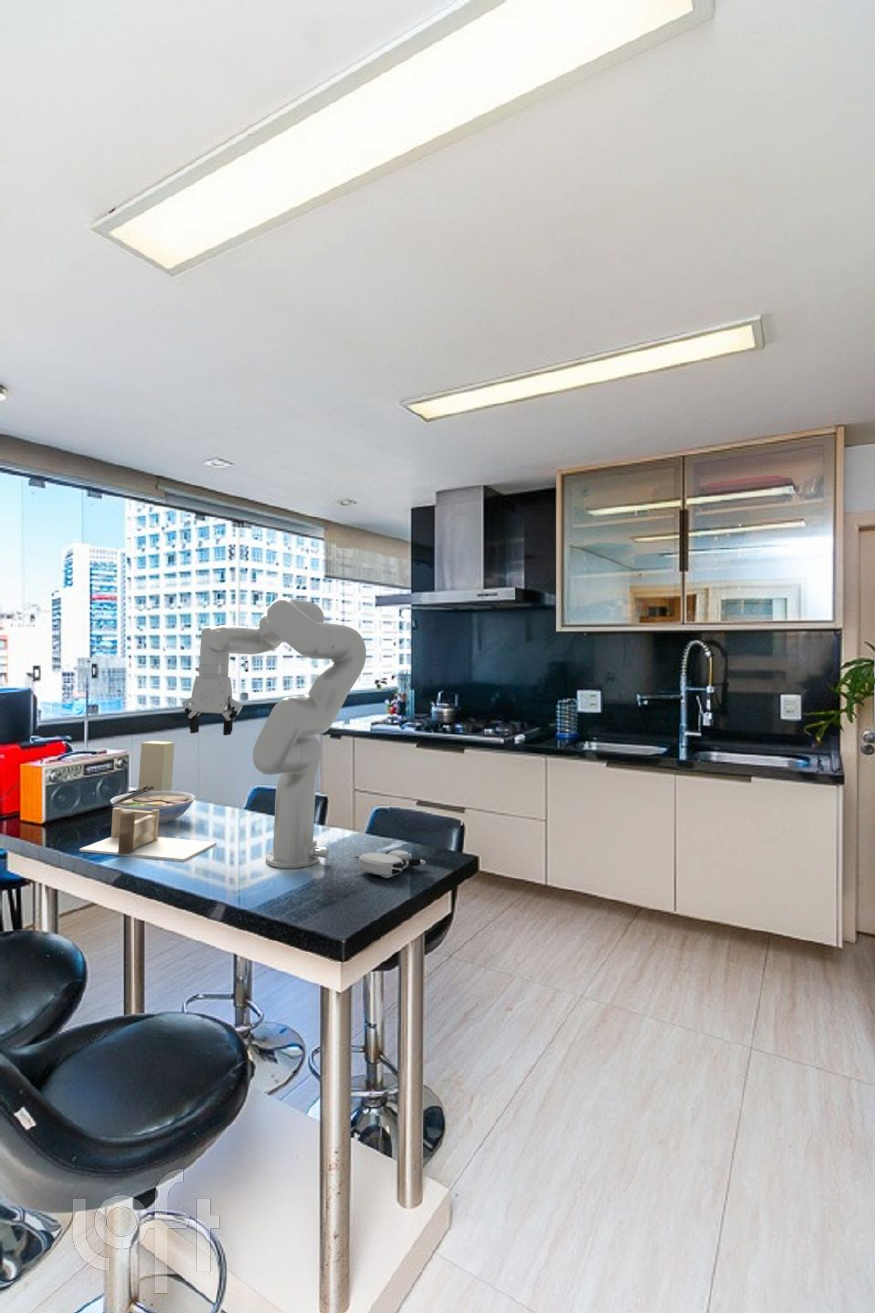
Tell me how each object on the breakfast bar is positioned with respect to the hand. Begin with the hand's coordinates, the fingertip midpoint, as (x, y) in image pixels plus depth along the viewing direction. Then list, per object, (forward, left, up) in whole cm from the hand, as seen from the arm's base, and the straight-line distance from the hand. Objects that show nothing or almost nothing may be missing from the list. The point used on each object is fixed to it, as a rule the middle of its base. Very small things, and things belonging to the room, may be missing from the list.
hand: (210, 733), depth 167 cm
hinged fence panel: (+10, +15, -27) cm, 33 cm away
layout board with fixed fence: (+8, +13, -28) cm, 32 cm away
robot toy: (-55, +13, -29) cm, 63 cm away
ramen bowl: (+22, -9, -28) cm, 37 cm away
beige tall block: (+34, -28, -28) cm, 53 cm away
